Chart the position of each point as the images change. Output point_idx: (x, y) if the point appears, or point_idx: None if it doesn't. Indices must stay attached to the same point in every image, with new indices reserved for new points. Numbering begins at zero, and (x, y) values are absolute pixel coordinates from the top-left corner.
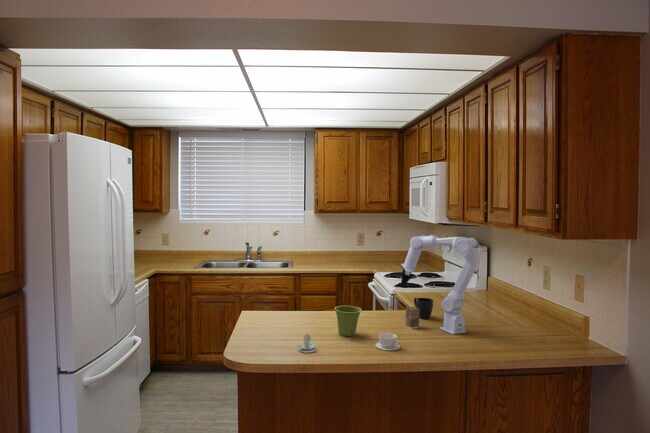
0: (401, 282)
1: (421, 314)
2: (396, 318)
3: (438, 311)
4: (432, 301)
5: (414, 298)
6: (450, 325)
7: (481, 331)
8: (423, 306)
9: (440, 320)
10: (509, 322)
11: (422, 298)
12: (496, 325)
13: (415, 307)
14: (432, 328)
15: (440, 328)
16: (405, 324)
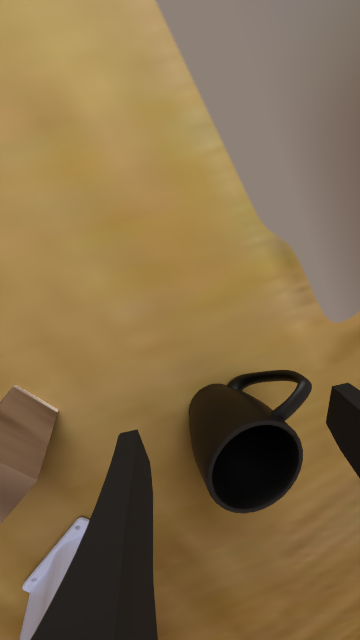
0: (109, 473)
1: (190, 417)
2: (128, 298)
3: None
4: (242, 511)
5: (299, 381)
6: (40, 602)
7: None
8: (196, 457)
9: None
10: (300, 634)
11: (291, 437)
12: (246, 625)
13: (19, 497)
14: (62, 493)
15: (73, 524)
16: (11, 388)
